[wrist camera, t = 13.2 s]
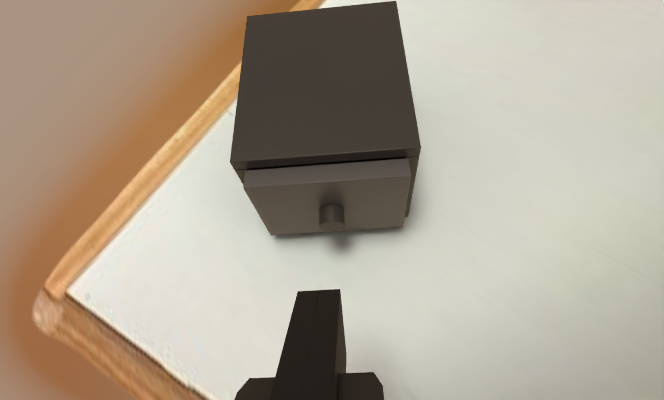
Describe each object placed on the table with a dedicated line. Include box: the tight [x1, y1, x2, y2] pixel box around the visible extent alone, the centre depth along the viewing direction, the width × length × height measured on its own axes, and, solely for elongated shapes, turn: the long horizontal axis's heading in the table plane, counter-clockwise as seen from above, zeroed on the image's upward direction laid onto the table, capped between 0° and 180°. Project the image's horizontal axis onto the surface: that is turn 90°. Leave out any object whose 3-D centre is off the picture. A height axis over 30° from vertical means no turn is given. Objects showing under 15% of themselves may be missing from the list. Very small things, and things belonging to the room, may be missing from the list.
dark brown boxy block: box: [230, 1, 421, 217], centre depth 28 cm, size 13×11×9 cm
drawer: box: [243, 158, 411, 235], centre depth 27 cm, size 13×9×7 cm
